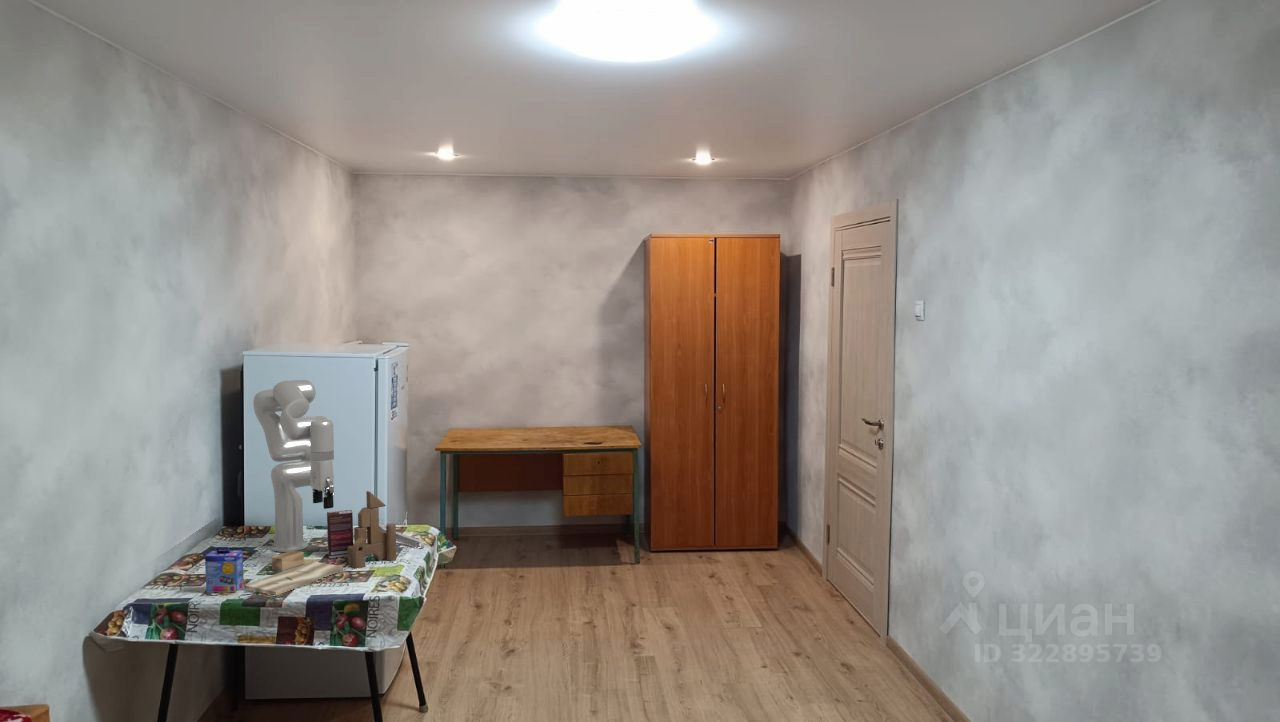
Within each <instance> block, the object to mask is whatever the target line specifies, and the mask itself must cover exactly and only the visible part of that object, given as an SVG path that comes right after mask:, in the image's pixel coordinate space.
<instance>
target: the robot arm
mask: <svg viewBox="0 0 1280 722" xmlns="http://www.w3.org/2000/svg"><path fill="white" fill-rule="evenodd" d="M316 393H317V392H316V387H315V385H314V384H313V382H312V381H310V380H308V379H298V380H297V379H296V380H295V379H294V380H282V381H279V382H277V383H276V384H275V385H274V386H273V388H272V389H265V390H261V391H258V392H257V393H256V394H255V396H253V402H252V403H253V410H254V413H255V416H256V419H257V421H258V422H259V423H260V425H261V427H262V429H263V433H264V437H265V441H266V444H267V449H268V453H269V455H270V458H271V459H272V461H274V462H277V463H280V464H277V465H275V466H274V467H273V468H272V470H271V472H270V477H271V478H270V479H271V484H272V489H273V496H274V497H273V498H274V525H275V526H274V527H275V533H273V534H272V536H270V537H269V540H271V541H273V544H272V545H271V547H270V548H271V550H272V551H273V552H276V551H277V553H279V552H280V553H286V552H289V551H293V550H295V551H301V550H304V549H306V548H308V546H309V544H308V541H306V540H305V539H304V510H303V498H302V496H301V495H300V493H299V492H297V491H296V489H298V488H302V487H311V488H312V489H311V490H312V503H313V504H319V503H320V504H321V503H323V510H327V509H333V508H334V496H335V490H334V489H335V485H334V484H335V482H334V481H335V480H334V479H335V477H334V475H335V474H334V466H333V461H334V460H335V451H334V450H335V449H334V448H335V447H334V444H335V443H334V436H335V435H334V433H335V432H334V422H333V421H332V420H331V419H328V418H327V417H325V416H322V415H320V416H319V415H317V416H306V417H305V415H306V414H307V413H308V411H309V409H310V404H311V403H312V402H313V401H314V400H315V399H316ZM276 412H281V413H280V415H278V414H277V413H276Z"/></svg>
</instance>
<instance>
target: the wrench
mask: <svg viewBox="0 0 1280 722" xmlns="http://www.w3.org/2000/svg"><path fill="white" fill-rule="evenodd" d="M379 528H380V530H381V531H382V532H386V526H384V525H383V524H382V523H381V522H380V521H379ZM396 542H398V543H401V544H404V545H407V546H409V547H411V546H412V547H411V548H414V547H416V548H415V549H417V548H418V547H421V548H420V549H419V550H422V549H424V548H425V542H424V541H423V540H421V539H419V538H416V537H412V536H410V535H407V534H404V533H401V532H398V531H396Z"/></svg>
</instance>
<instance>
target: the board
mask: <svg viewBox="0 0 1280 722" xmlns="http://www.w3.org/2000/svg"><path fill="white" fill-rule="evenodd" d="M341 571H342V572H344V566H342V565H341V566H340V565H336V564H335V565H334V564H329V563H324V562H319V561H313V560H312V561H309V562H306V563H304V564H303V565H300V566H298V567H295V568H292V569H289V570H286V571H283V572H280V573H279V572H277V573H276V574H272V575H270V576H266V577H264V578H260V579H258V580H254V581H252V582H249V583H246V584H244V588H243V590H244V589H248V590H252V591H257V592H262V593H267V594H270V595H275V596H277V595H279V594H282V593H284V592H287V591H290V590H292V591H294V590H293V589H295V588H298V587H300V588H303V587H305V586H304V585H306V586H308V585H310V584H309V583H311V582H313V583H315V582H314V581H316V580H318V579H321V578H323V577H326V576H329V575H332V574H335V573H337V574H339V573H338V572H340V573H342V572H341ZM335 575H336V574H335ZM332 576H333V575H332ZM329 577H330V576H329ZM321 580H322V579H321ZM316 582H317V581H316ZM307 584H308V585H307ZM311 584H312V583H311ZM302 586H303V587H302ZM298 589H299V588H298ZM295 590H296V589H295ZM252 591H251V592H252ZM290 592H291V591H290ZM287 593H288V592H287ZM284 594H285V593H284ZM270 595H269V596H270ZM282 595H283V594H282ZM275 596H274V597H275ZM279 596H280V595H279ZM277 597H278V596H277Z"/></svg>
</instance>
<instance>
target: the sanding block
mask: <svg viewBox="0 0 1280 722" xmlns="http://www.w3.org/2000/svg"><path fill="white" fill-rule="evenodd" d="M303 564H305V553H304V551H301V550H297V551H295V550H293V551H289V552H282V553H280V554H277V555H273V556H271V570H272V571H271V572H274V571H276V572H275V573H279V572H283V571H286V570H289V569H292V568H295V567H298V566H300V565H303Z"/></svg>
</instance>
